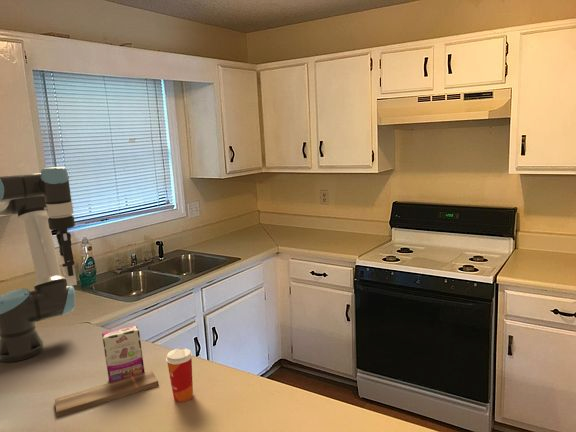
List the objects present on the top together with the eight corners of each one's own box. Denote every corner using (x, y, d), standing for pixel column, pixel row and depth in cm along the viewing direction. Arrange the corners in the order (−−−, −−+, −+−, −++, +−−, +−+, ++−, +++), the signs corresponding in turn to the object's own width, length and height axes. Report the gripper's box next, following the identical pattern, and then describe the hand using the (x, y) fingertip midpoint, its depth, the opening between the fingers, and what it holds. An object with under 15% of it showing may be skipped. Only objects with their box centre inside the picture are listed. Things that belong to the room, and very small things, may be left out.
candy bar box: (143, 370, 158) (137, 324, 155) (145, 376, 154) (139, 329, 151) (107, 379, 153) (101, 332, 150) (109, 386, 149) (102, 338, 146)
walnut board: (55, 403, 141) (54, 398, 141) (152, 374, 155) (151, 370, 154) (57, 416, 134) (56, 411, 134) (158, 385, 148) (158, 380, 148)
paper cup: (174, 390, 145) (169, 347, 142) (198, 389, 144) (194, 346, 142) (166, 404, 137) (161, 360, 134) (193, 404, 137) (188, 359, 134)
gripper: (45, 212, 158) (54, 272, 162) (50, 223, 137) (60, 292, 141) (69, 209, 162) (77, 268, 166) (78, 219, 140) (87, 287, 144)
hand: (69, 279), depth 153 cm, fingers open, 13 cm apart
